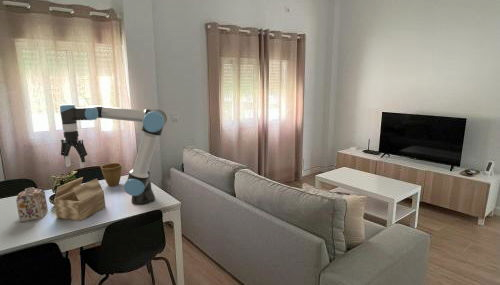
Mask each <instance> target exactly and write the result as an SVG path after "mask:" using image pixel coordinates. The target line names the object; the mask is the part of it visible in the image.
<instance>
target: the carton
mask: <svg viewBox="0 0 500 285" xmlns="http://www.w3.org/2000/svg"><path fill="white" fill-rule="evenodd" d="M53 202H54V208H55V216H56V218H57V219H62V220H67V221H68V220H69V221H77V222H83V221H84V220H86V219H88V218H89V217H91V216H93V215H95V214H96V213H98V212H100V211H102V210H103V209H105V208H106V207H107V206H106V200H105V191H104V189H103V190H101V191H98V192H96V193H94V194H92V195H90V196H88V197H86V198H84V199H82V200H80V201H79V200H78V198H77V196H76V195H75V193H74V191H71V192H69V193H67V194H65V195H62V196H60V197H58V198H56V199H55V198H54V199H53Z"/></svg>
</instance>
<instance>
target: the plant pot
mask: <svg viewBox="0 0 500 285" xmlns="http://www.w3.org/2000/svg"><path fill="white" fill-rule="evenodd" d="M122 166H123V165H122V163H120V162H119V163H118V162H111V163H107V164H104V165H101V166H100V170H101V173H102V176H103V178H104V180H105V182H106V184H107V185H108V187H110V188H113V187H117V186H119V185H120V181H121V177H122Z"/></svg>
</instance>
